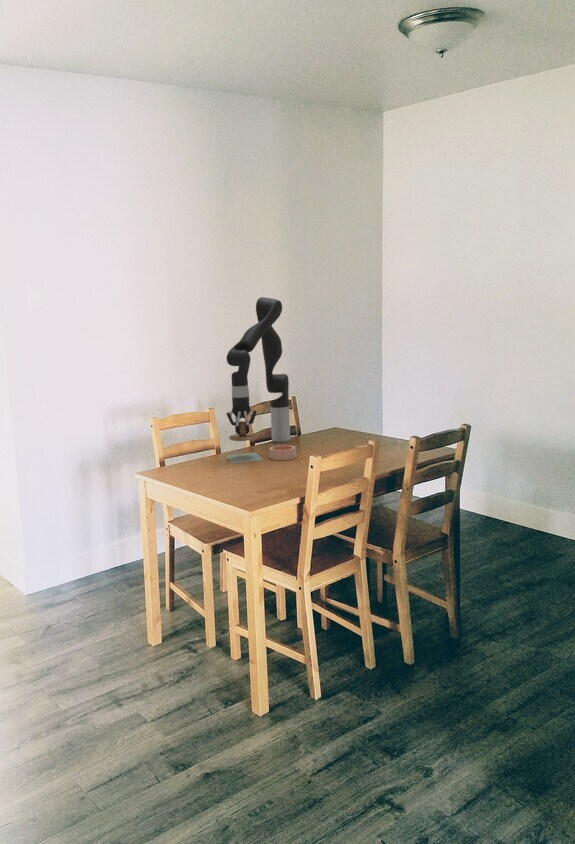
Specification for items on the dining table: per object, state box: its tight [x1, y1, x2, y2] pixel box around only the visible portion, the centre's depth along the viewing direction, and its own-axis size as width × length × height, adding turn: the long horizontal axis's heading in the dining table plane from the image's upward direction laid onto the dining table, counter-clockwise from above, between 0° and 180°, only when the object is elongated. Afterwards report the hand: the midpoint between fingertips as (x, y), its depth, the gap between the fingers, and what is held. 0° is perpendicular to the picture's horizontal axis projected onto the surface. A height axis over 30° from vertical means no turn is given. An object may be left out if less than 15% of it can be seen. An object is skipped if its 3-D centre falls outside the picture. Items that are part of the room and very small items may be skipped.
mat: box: [225, 452, 264, 464], centre depth 319 cm, size 16×14×1 cm
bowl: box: [268, 444, 297, 462], centre depth 316 cm, size 11×11×5 cm
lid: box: [228, 420, 257, 442], centre depth 317 cm, size 12×12×7 cm
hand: (242, 433), depth 317 cm, fingers closed on lid, 3 cm apart
